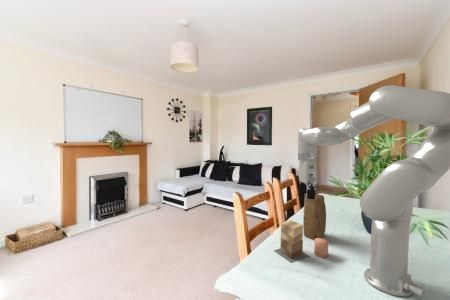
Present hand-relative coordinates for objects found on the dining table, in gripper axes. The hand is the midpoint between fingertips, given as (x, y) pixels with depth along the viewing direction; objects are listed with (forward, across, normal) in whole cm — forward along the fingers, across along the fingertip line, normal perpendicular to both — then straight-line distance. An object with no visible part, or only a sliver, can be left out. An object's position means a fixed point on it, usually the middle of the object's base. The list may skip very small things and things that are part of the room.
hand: (306, 196), depth 93 cm
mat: (+22, -8, +9) cm, 25 cm away
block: (+22, +8, -7) cm, 24 cm away
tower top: (+15, -8, +9) cm, 20 cm away
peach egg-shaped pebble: (+22, -9, -2) cm, 24 cm away
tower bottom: (+21, -8, +9) cm, 25 cm away
